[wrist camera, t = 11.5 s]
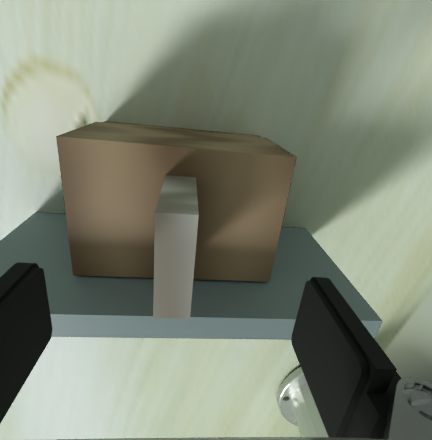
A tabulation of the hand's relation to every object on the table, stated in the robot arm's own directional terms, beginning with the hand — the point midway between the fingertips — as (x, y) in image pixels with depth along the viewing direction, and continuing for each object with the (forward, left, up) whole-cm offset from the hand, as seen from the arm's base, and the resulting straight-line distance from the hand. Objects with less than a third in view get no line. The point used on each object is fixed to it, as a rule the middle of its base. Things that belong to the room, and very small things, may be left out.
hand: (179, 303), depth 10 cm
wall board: (0, +5, -15) cm, 16 cm away
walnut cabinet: (0, 0, -16) cm, 16 cm away
